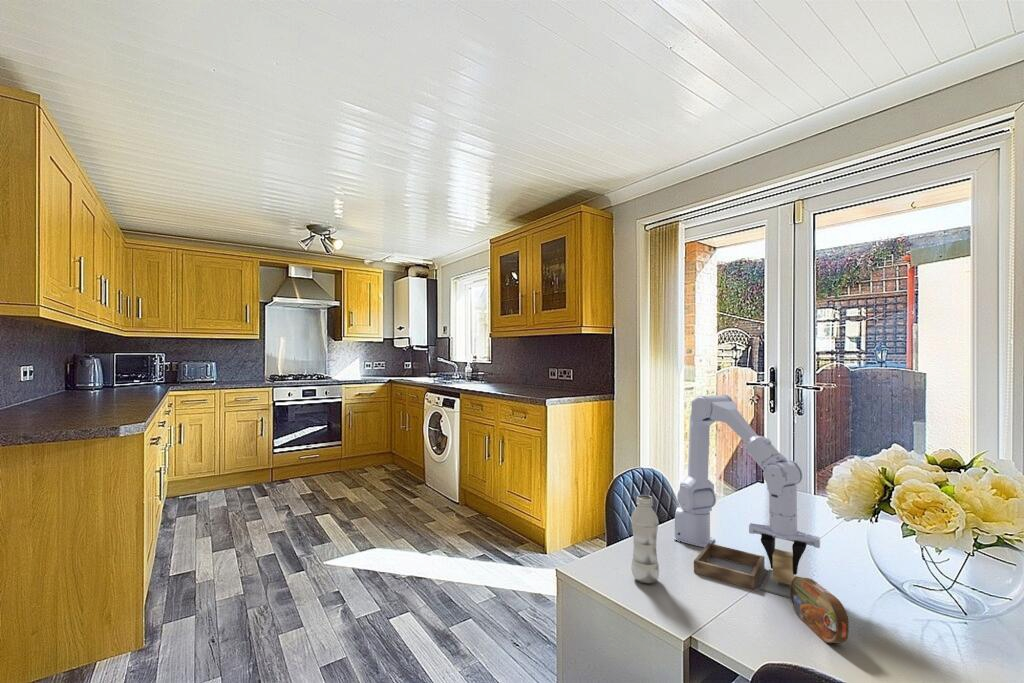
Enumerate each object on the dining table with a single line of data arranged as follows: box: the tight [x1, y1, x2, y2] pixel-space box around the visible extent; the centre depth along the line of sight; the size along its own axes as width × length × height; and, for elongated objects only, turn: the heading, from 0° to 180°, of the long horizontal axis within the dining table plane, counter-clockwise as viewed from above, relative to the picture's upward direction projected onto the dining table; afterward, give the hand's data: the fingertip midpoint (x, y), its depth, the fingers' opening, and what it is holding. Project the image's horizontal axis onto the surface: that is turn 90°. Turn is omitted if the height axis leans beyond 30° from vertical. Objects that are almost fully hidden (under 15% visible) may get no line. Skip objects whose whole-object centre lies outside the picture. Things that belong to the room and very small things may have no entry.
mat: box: [760, 568, 803, 599], centre depth 110 cm, size 8×12×1 cm, turn 142°
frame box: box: [693, 543, 766, 591], centre depth 117 cm, size 14×14×3 cm
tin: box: [790, 576, 850, 644], centre depth 92 cm, size 15×3×8 cm, turn 178°
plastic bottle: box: [630, 494, 660, 584], centre depth 112 cm, size 6×7×20 cm
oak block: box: [772, 548, 796, 585], centre depth 110 cm, size 4×4×6 cm
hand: (783, 570), depth 110 cm, fingers closed on oak block, 4 cm apart
